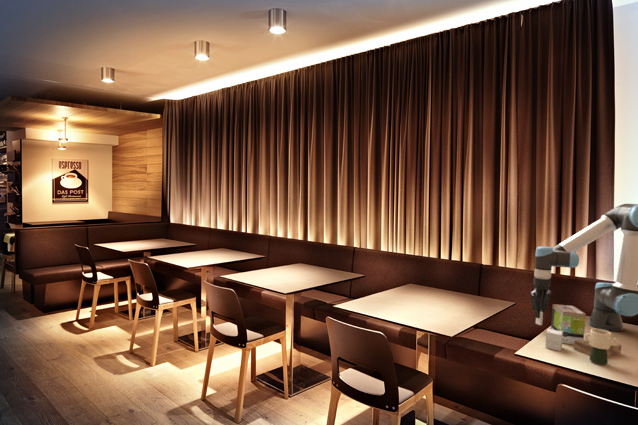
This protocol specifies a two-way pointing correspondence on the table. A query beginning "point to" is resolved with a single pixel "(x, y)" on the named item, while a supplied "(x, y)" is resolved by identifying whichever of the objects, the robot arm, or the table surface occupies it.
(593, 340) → the character mug
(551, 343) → the skincare box
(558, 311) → the tea box
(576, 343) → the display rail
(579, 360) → the table surface
